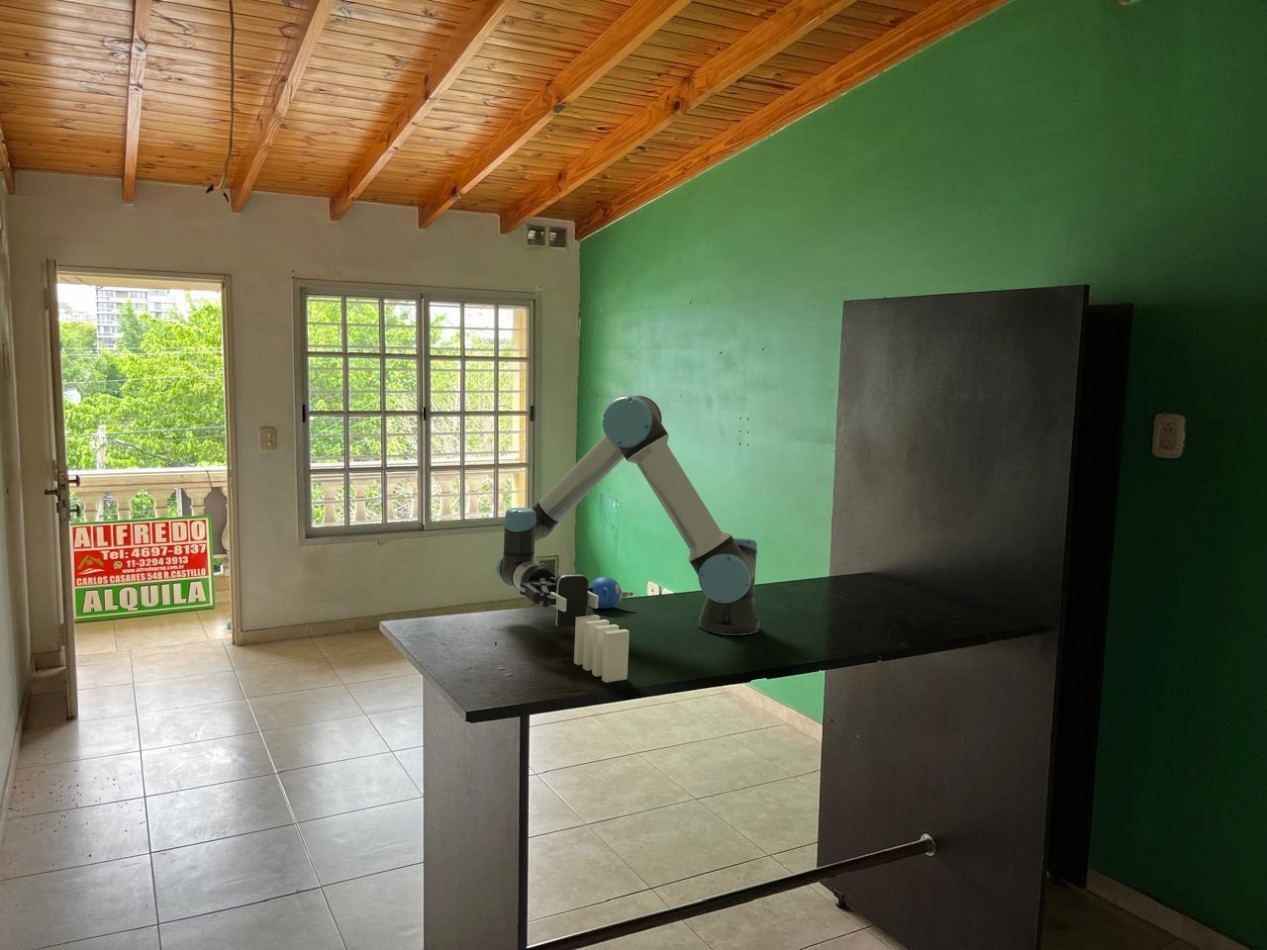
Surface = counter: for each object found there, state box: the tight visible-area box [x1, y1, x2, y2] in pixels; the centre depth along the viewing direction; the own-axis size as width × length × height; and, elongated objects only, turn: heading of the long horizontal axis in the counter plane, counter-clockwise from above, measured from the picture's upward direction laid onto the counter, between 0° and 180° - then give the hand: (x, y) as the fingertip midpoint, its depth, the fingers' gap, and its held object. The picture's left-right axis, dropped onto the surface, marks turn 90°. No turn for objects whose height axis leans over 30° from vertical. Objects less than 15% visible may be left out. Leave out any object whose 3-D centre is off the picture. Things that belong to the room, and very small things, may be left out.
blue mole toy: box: [589, 576, 634, 610], centre depth 234 cm, size 12×12×8 cm
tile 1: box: [573, 614, 601, 666], centre depth 187 cm, size 5×2×10 cm, turn 122°
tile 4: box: [601, 628, 630, 683], centre depth 177 cm, size 5×2×10 cm, turn 122°
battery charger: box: [554, 573, 589, 628], centre depth 193 cm, size 7×4×11 cm, turn 113°
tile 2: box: [582, 619, 610, 672], centre depth 184 cm, size 5×2×10 cm, turn 122°
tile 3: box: [591, 623, 620, 677], centre depth 181 cm, size 5×2×10 cm, turn 122°
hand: (580, 603), depth 189 cm, fingers closed on battery charger, 7 cm apart
